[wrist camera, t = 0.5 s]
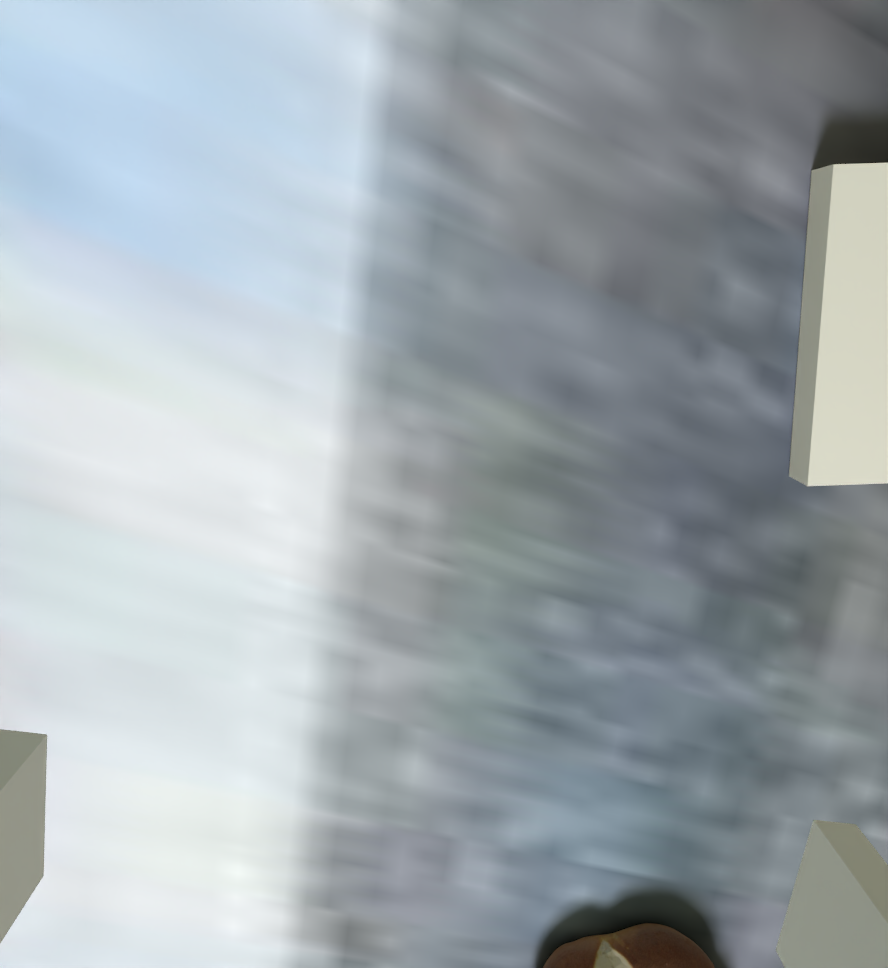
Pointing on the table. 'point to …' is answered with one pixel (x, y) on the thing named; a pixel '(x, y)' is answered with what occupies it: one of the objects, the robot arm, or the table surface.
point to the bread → (631, 950)
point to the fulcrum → (843, 331)
